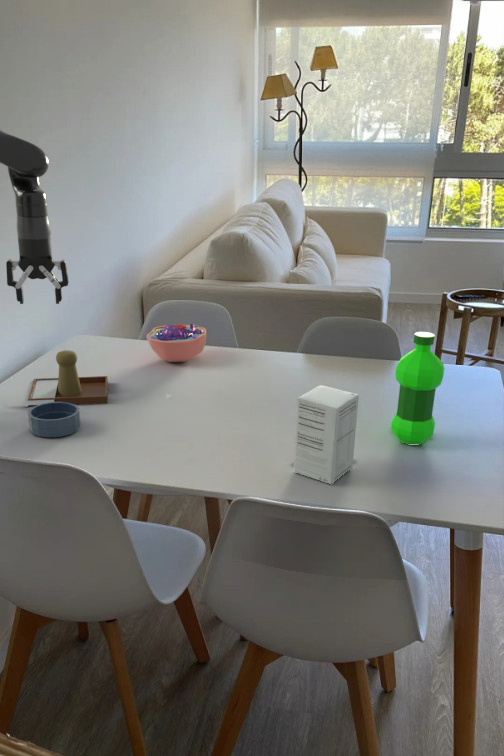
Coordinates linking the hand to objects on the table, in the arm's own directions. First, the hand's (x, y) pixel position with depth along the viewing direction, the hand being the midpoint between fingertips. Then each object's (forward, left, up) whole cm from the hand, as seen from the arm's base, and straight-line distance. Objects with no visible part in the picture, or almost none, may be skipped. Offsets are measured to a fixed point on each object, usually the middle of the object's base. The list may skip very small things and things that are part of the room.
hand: (40, 303), depth 174 cm
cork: (+5, -2, -23) cm, 24 cm away
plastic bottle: (+83, -42, -24) cm, 96 cm away
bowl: (+3, -25, -23) cm, 34 cm away
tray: (+5, -3, -23) cm, 24 cm away
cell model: (+35, +23, -24) cm, 49 cm away
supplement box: (+59, -54, -24) cm, 83 cm away
